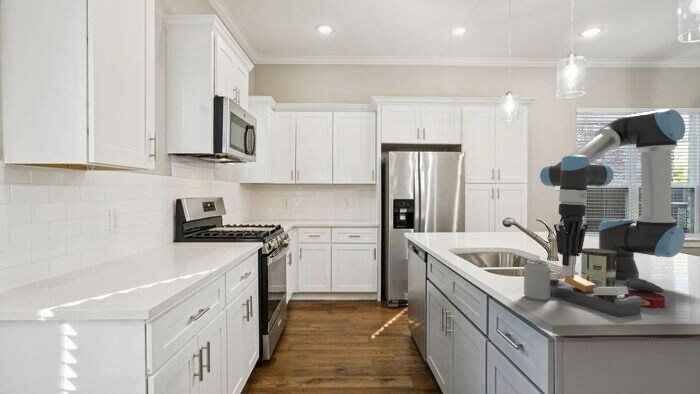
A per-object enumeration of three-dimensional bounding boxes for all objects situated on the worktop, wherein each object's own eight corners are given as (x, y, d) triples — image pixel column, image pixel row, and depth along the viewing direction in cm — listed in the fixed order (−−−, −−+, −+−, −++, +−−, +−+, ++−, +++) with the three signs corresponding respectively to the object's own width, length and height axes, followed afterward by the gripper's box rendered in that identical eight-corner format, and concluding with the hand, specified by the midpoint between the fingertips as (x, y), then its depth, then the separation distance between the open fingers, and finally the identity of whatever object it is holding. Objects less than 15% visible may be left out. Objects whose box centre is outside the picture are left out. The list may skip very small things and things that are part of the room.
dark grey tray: (529, 289, 128) (529, 276, 128) (548, 286, 131) (548, 273, 131) (619, 317, 100) (620, 300, 100) (640, 313, 103) (640, 297, 103)
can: (552, 298, 118) (553, 261, 117) (545, 303, 112) (546, 264, 112) (528, 293, 123) (529, 258, 123) (520, 298, 118) (521, 261, 117)
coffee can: (606, 287, 131) (607, 248, 131) (621, 295, 121) (622, 253, 121) (575, 285, 133) (576, 247, 133) (587, 293, 123) (588, 252, 123)
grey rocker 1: (540, 280, 127) (539, 274, 127) (549, 279, 128) (548, 273, 129) (557, 279, 120) (556, 273, 121) (567, 278, 122) (565, 272, 122)
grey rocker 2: (594, 295, 109) (592, 288, 109) (604, 293, 111) (602, 286, 111) (618, 295, 103) (616, 287, 103) (628, 293, 104) (626, 286, 105)
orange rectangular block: (564, 281, 118) (565, 275, 118) (573, 280, 120) (575, 274, 119) (584, 292, 112) (586, 285, 111) (594, 290, 113) (595, 284, 113)
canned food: (622, 315, 115) (609, 284, 120) (653, 311, 116) (638, 280, 120) (648, 309, 105) (633, 275, 110) (681, 305, 106) (665, 272, 110)
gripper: (568, 204, 112) (563, 279, 112) (598, 204, 117) (593, 276, 118) (546, 202, 118) (543, 273, 119) (576, 202, 124) (572, 271, 125)
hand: (568, 275), depth 119 cm, fingers closed, pressing on orange rectangular block
